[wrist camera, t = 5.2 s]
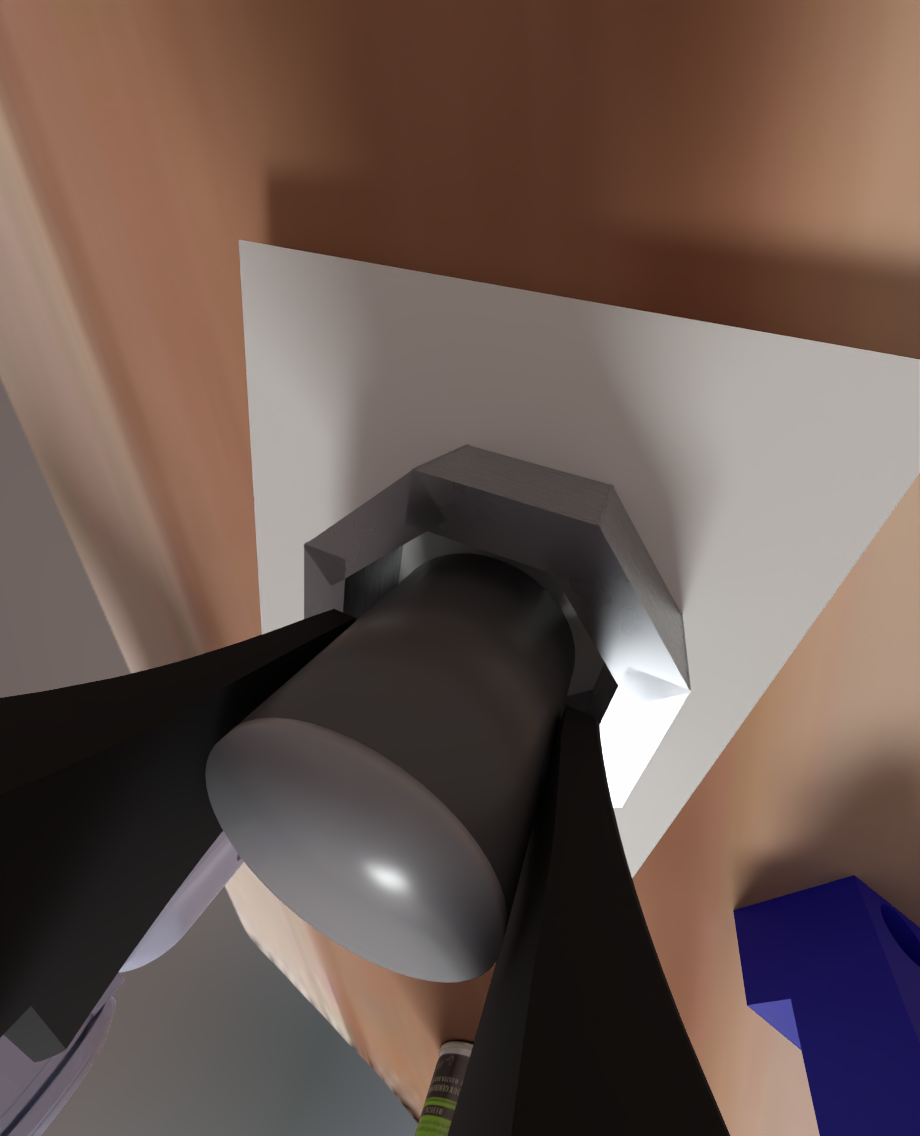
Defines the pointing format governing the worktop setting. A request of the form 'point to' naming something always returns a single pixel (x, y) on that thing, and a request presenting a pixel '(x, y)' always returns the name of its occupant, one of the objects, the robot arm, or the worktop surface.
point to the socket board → (572, 483)
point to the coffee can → (444, 1089)
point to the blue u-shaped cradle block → (841, 1000)
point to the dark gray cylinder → (406, 768)
